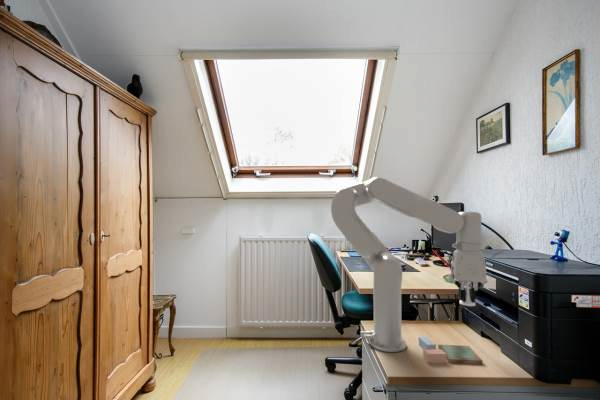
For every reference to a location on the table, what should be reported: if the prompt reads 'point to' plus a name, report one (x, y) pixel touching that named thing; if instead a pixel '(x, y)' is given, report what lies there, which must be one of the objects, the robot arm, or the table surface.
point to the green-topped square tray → (460, 354)
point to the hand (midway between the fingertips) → (467, 300)
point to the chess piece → (467, 296)
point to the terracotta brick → (434, 356)
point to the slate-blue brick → (426, 343)
